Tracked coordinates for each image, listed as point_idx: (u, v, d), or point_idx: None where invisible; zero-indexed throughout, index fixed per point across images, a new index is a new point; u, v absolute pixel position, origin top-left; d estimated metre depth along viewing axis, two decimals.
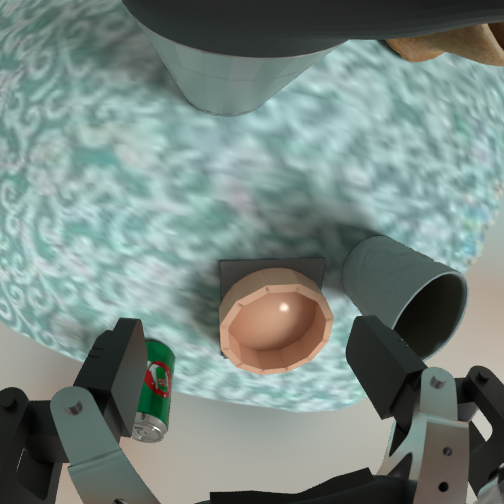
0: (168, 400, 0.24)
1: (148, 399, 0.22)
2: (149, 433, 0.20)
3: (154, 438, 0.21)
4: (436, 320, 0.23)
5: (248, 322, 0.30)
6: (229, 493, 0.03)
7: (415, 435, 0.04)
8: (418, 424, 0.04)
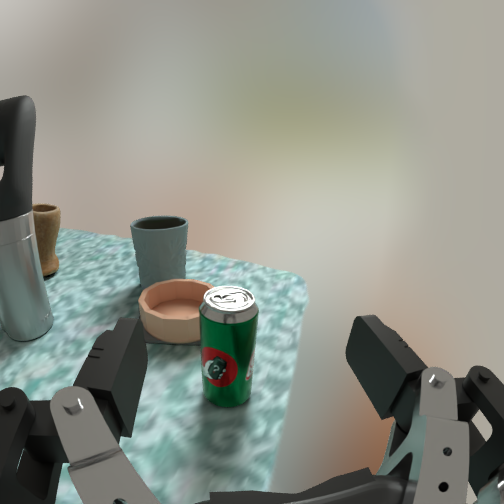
0: None
1: None
2: (229, 293, 0.23)
3: (240, 291, 0.24)
4: None
5: None
6: (229, 493, 0.03)
7: (415, 435, 0.04)
8: (418, 424, 0.04)
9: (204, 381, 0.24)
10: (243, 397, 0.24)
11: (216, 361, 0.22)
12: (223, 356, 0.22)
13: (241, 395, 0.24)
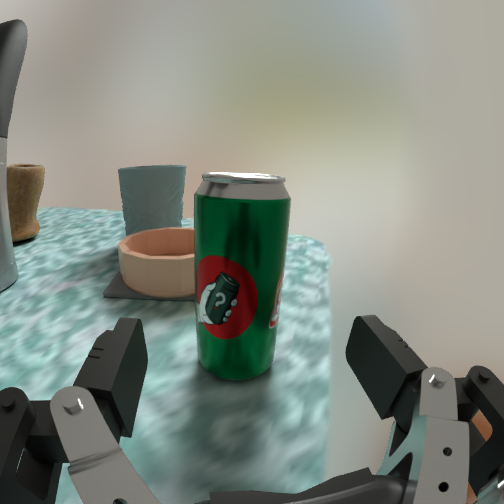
0: None
1: None
2: (243, 175, 0.15)
3: (259, 175, 0.15)
4: None
5: None
6: (229, 493, 0.03)
7: (415, 435, 0.04)
8: (418, 424, 0.04)
9: (199, 334, 0.15)
10: (264, 362, 0.16)
11: (220, 283, 0.13)
12: (233, 270, 0.13)
13: (260, 357, 0.15)
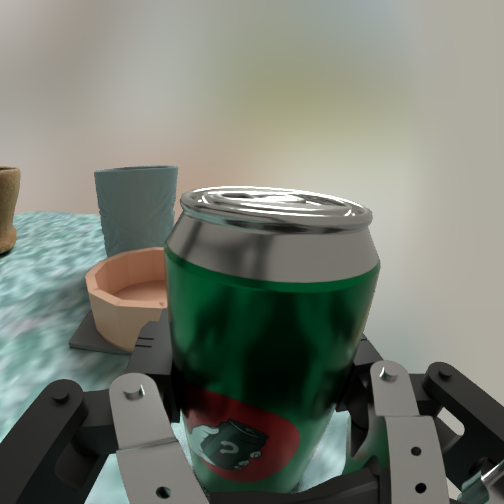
0: None
1: None
2: None
3: (305, 195, 0.07)
4: None
5: None
6: (229, 493, 0.03)
7: (376, 437, 0.04)
8: (377, 425, 0.05)
9: (193, 459, 0.08)
10: (293, 485, 0.08)
11: (229, 432, 0.05)
12: (257, 420, 0.05)
13: (290, 485, 0.07)
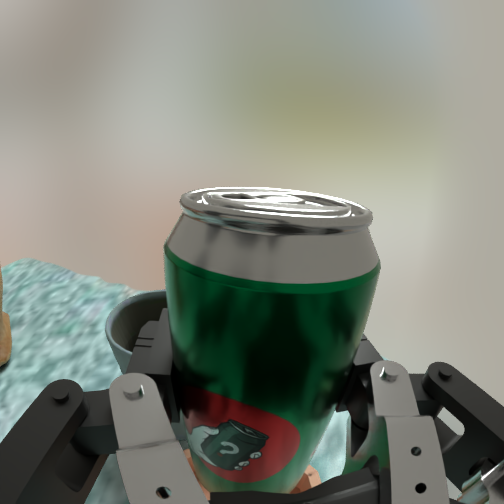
0: None
1: None
2: None
3: (305, 195, 0.07)
4: None
5: None
6: (229, 493, 0.03)
7: (376, 437, 0.04)
8: (377, 425, 0.05)
9: (194, 459, 0.08)
10: (293, 485, 0.08)
11: (229, 433, 0.05)
12: (256, 420, 0.05)
13: (290, 485, 0.07)
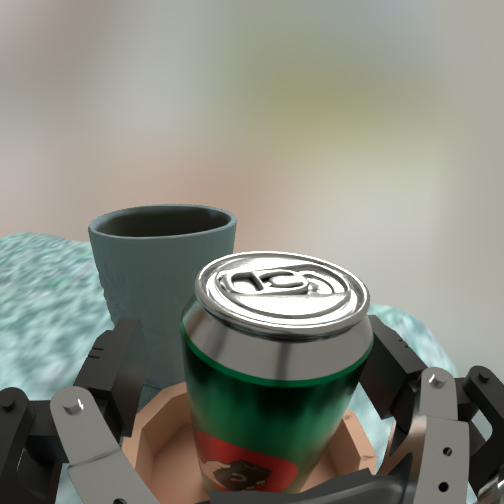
0: None
1: None
2: (278, 269, 0.07)
3: (309, 265, 0.08)
4: None
5: None
6: (229, 493, 0.03)
7: (415, 435, 0.04)
8: (418, 424, 0.04)
9: (205, 480, 0.08)
10: None
11: (239, 468, 0.06)
12: (262, 461, 0.06)
13: None
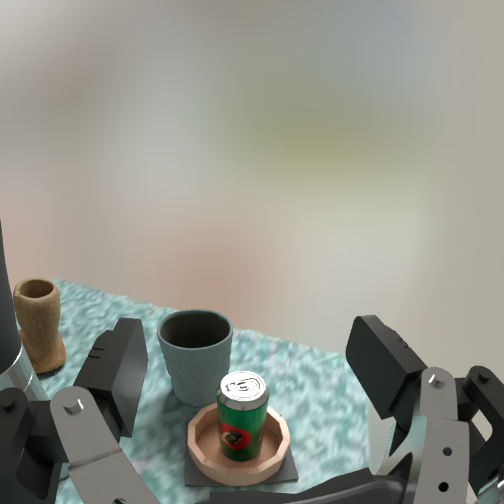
0: None
1: None
2: (242, 380, 0.24)
3: (252, 377, 0.25)
4: (209, 327, 0.39)
5: (244, 463, 0.25)
6: (229, 493, 0.03)
7: (415, 435, 0.04)
8: (418, 424, 0.04)
9: (221, 443, 0.25)
10: (255, 454, 0.25)
11: (232, 433, 0.23)
12: (238, 430, 0.22)
13: (253, 453, 0.25)
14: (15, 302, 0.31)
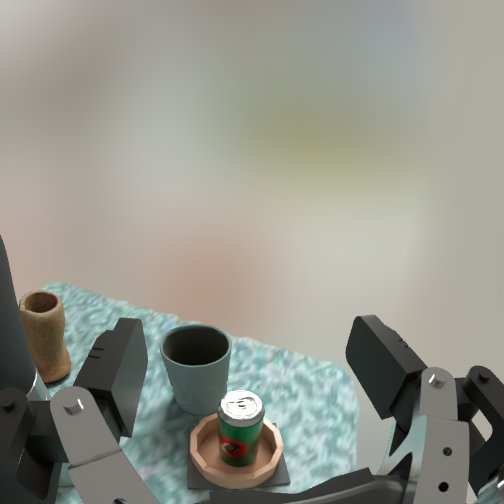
0: None
1: None
2: (241, 399, 0.26)
3: (249, 396, 0.27)
4: (209, 341, 0.41)
5: (241, 468, 0.27)
6: (229, 493, 0.03)
7: (415, 435, 0.04)
8: (418, 424, 0.04)
9: (221, 451, 0.27)
10: (252, 460, 0.27)
11: (231, 444, 0.25)
12: (237, 442, 0.24)
13: (250, 460, 0.27)
14: (21, 316, 0.32)
